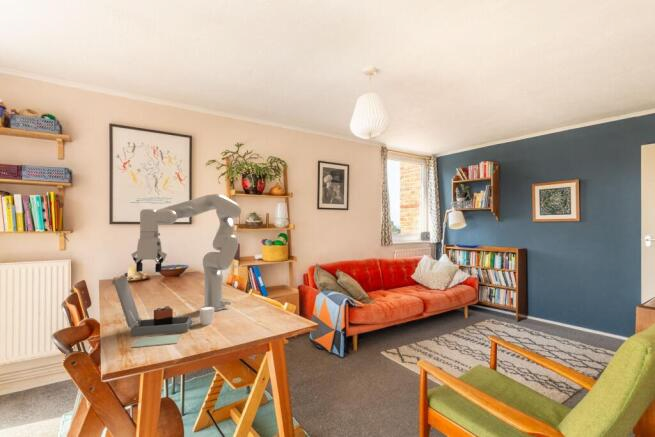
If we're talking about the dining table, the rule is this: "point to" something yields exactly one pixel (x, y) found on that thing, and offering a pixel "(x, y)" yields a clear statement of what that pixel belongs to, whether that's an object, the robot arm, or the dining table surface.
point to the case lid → (126, 299)
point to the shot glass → (206, 315)
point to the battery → (163, 316)
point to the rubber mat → (156, 340)
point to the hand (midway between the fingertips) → (148, 271)
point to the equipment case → (159, 326)
